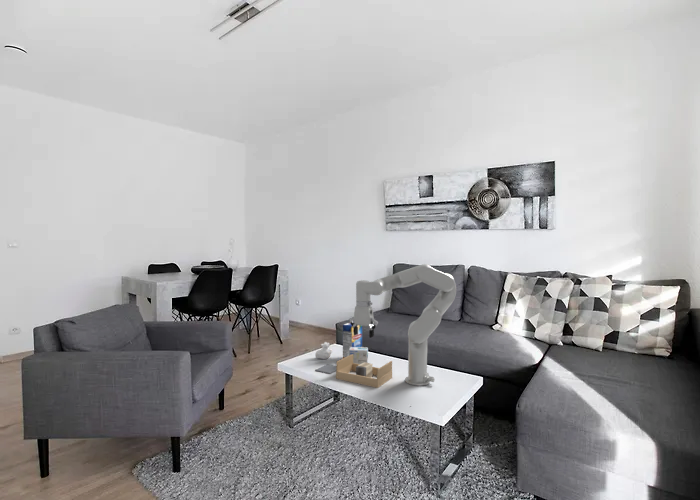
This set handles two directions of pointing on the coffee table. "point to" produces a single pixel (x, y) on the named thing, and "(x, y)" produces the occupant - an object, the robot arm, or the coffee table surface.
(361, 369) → the block
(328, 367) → the grey mat
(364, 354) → the light bulb box
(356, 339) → the blue yellow food box
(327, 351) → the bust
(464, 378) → the coffee table surface
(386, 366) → the carton
